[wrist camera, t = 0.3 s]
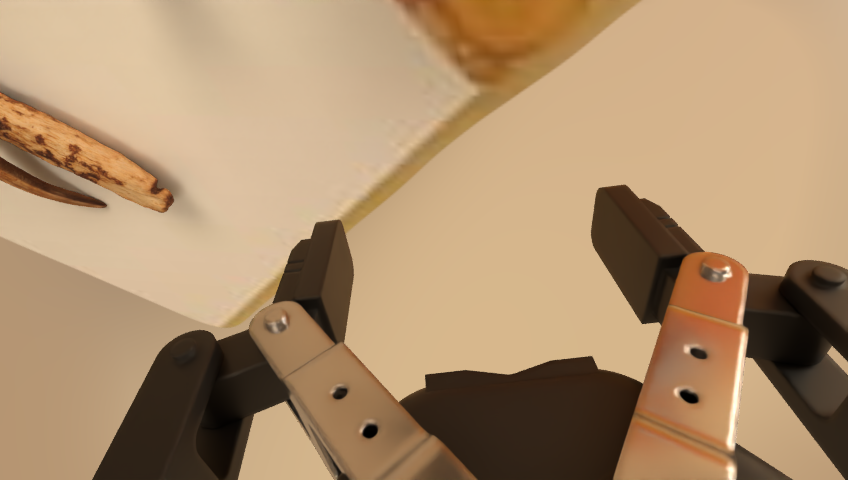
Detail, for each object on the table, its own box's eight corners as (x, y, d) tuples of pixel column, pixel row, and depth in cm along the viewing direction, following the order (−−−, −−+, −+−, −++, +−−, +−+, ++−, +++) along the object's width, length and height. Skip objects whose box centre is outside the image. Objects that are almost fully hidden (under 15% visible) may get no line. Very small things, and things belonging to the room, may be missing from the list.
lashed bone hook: (-87, 120, 33) (156, 231, 41) (-145, 153, 29) (133, 266, 38) (-79, 22, 28) (193, 170, 36) (-147, 47, 25) (171, 204, 33)
